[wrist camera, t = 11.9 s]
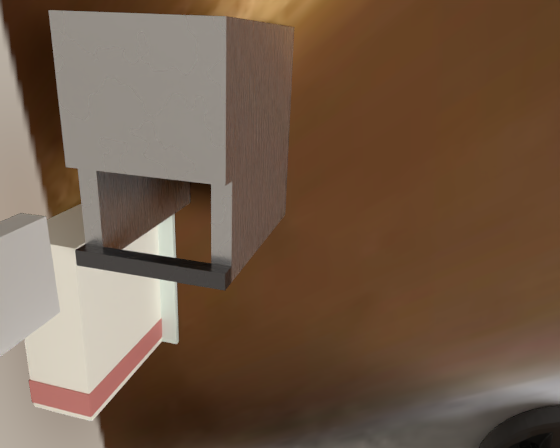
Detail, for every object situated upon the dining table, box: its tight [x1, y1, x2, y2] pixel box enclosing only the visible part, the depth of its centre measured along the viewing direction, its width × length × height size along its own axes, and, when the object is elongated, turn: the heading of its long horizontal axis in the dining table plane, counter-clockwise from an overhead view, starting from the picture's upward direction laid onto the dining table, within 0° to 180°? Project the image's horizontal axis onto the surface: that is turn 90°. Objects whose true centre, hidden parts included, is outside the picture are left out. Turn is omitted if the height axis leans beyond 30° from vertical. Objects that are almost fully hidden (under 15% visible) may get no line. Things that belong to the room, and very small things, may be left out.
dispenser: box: [49, 10, 294, 290], centre depth 32 cm, size 14×9×14 cm
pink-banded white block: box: [24, 204, 162, 421], centre depth 40 cm, size 14×5×11 cm, turn 177°
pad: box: [158, 214, 179, 344], centre depth 45 cm, size 14×8×1 cm, turn 177°
